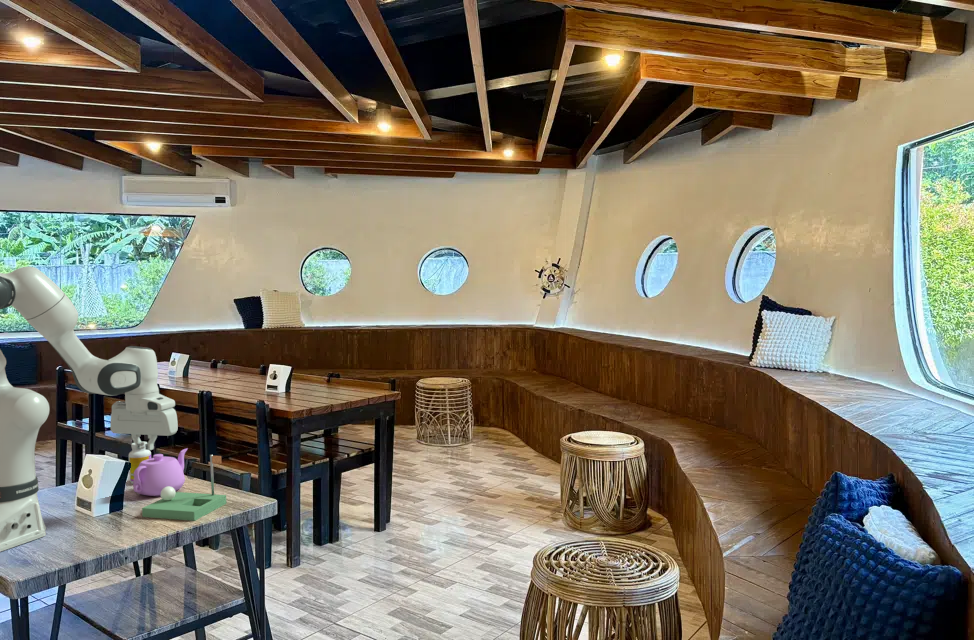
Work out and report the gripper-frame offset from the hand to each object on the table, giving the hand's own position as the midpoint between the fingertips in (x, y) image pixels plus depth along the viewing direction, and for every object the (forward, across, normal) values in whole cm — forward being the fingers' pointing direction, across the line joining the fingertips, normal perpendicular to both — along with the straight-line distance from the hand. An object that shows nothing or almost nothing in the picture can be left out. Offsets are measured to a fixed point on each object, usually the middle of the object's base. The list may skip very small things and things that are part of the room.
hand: (144, 449), depth 211 cm
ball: (+13, +7, 0) cm, 14 cm away
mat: (+17, +12, 0) cm, 21 cm away
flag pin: (+15, +18, +7) cm, 24 cm away
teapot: (+17, -6, +15) cm, 24 cm away
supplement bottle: (+17, -20, +22) cm, 34 cm away
